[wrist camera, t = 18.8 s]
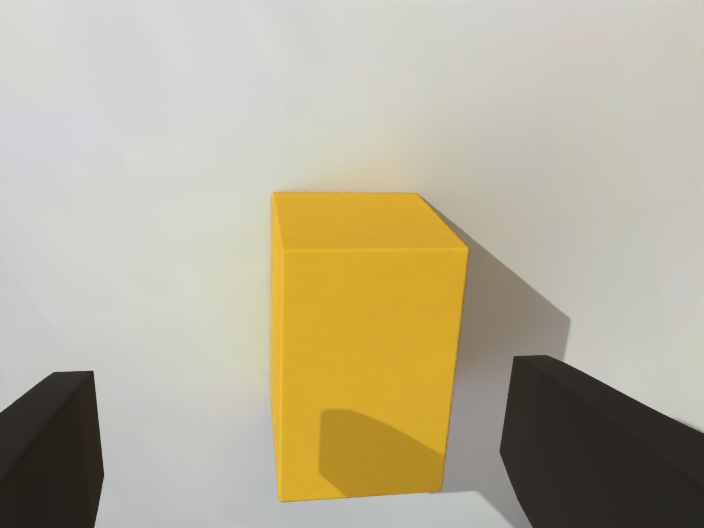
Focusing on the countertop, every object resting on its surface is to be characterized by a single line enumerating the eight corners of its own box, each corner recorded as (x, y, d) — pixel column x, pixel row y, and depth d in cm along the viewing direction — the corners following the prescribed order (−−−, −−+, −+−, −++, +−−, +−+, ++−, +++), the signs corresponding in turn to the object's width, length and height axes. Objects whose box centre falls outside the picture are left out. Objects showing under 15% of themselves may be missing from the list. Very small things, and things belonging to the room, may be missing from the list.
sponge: (418, 192, 20) (471, 248, 16) (401, 393, 23) (442, 492, 18) (271, 191, 19) (280, 249, 15) (270, 399, 22) (278, 503, 17)
